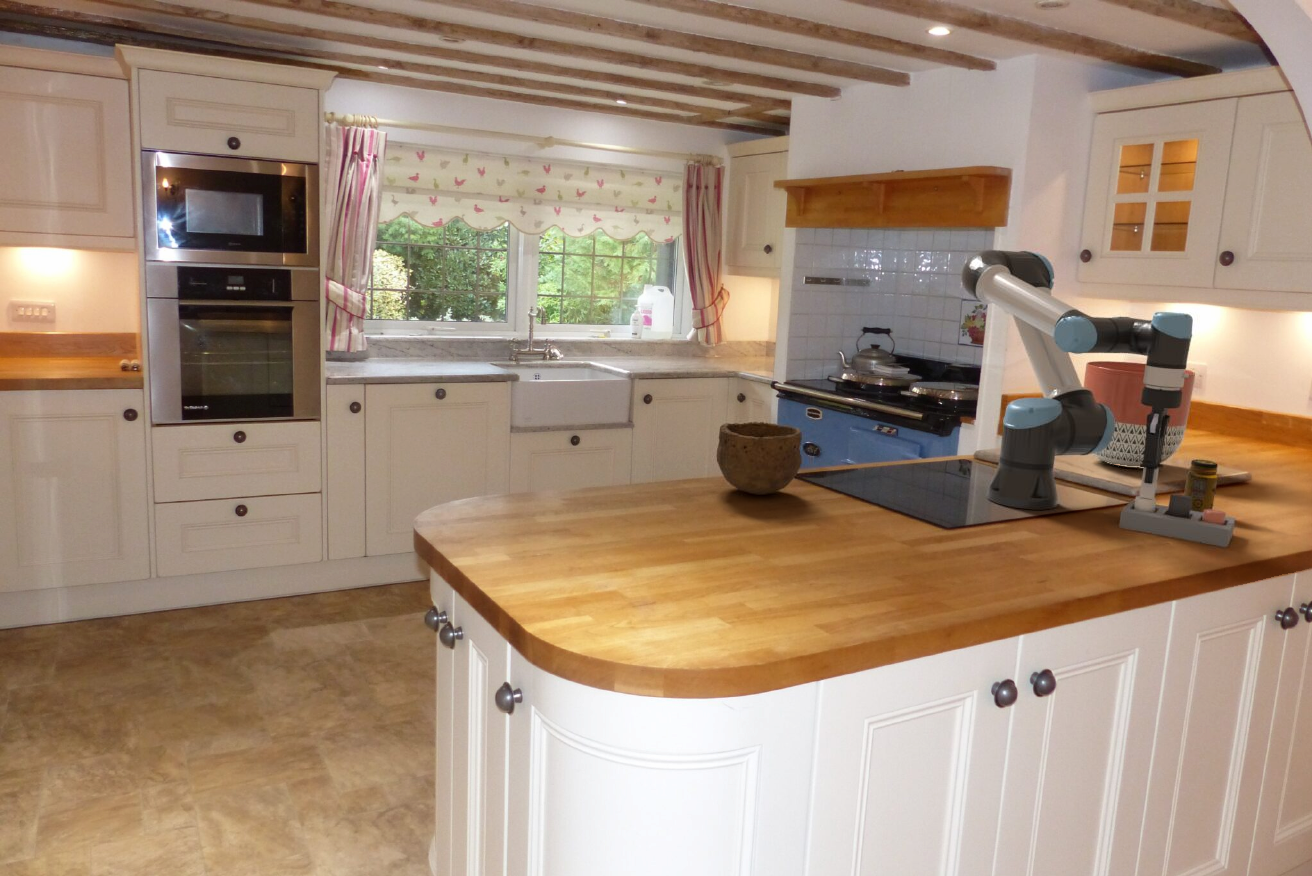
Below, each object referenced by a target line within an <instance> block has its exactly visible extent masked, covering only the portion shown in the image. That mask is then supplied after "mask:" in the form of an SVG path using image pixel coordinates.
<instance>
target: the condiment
mask: <svg viewBox="0 0 1312 876" xmlns="http://www.w3.org/2000/svg"><path fill="white" fill-rule="evenodd" d="M1190 463H1191V464H1190V467H1189V470H1188V472H1187V475H1186V480H1185V484H1184V485H1185V486H1184V491H1183V495H1186V496H1190V497H1192V501H1191V507H1190V510H1191V511H1197V512H1204V509H1213V507H1214V502H1215V495H1216V489H1217V485H1218V484H1217V482H1218V476H1219V475H1217V472H1218V466H1219V465H1218V463H1217V462H1215V461H1211V460H1207V459H1192V460H1191V462H1190Z"/></svg>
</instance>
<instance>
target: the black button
mask: <svg viewBox="0 0 1312 876" xmlns="http://www.w3.org/2000/svg"><path fill="white" fill-rule="evenodd" d="M1191 501H1192V497H1190V496H1186V495H1184V494H1180V493H1174V494H1173V493H1171V494H1170V495H1169V503H1168V507H1169V508H1168V514H1169V515H1171V516H1175V517H1182V518H1187V517H1189V513H1190V507H1191Z"/></svg>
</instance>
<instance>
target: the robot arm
mask: <svg viewBox="0 0 1312 876" xmlns="http://www.w3.org/2000/svg"><path fill="white" fill-rule="evenodd" d="M1053 279H1055V271H1054V268H1053V265H1052V263H1051V262H1050V260H1049V259H1048V258H1046V256H1044V255H1042V253H1041V254H1040V253H1039V252H1032V251H1028V250H1021V251H1020V250H1019V251H1015V250H1001V249H1000V250H999V249H997V250H996V249H986V250H981V251H978V252H977V253H975V254H973V255H971V257H970V258H968V259H967V260H966V261H965V264H964V266H963V268H962V271H961V283H962V285H963V288H964V290H965V291H966V292H967V293H968V294H969V295H970V296H971V297H973V298H974V299H976V300H978V301H980V302H982V303H983V304H994V305H996V306H998V307H999V308H1001V309H1002V310H1003V312H1004V313H1006V314H1007V315H1010V316H1012V318H1013V320H1014V323H1015V325H1016V328H1017V330H1018V334H1019V336H1020V339H1021V342H1022V343H1023V344H1022V345H1023V347H1024V349H1025V352H1026V354H1027V357H1028V359H1029V362H1030V364H1031V367H1032V369H1033V372H1034V375H1035V377H1036V380H1037V383H1038V386H1039V389H1040V390H1041V393H1042V396H1043V397H1024V398H1018V399H1015V400H1011V402H1008V404H1007V405H1006V408H1005V413H1004V417H1003V419H1002V423H1003V424H1002V425H1003V426H1002V435H1001V441H1000V442H1001V445H1000V452H999V459H998V461H999V462H998V466H997V468H996V470H995V472H994V474H993V477H992V478H991V480H990V483H989V485H988V487H987V493H986V498H987V499H988V500H989V501H991V502H994V503H995V504H999V505H1002V506H1006V507H1009V508H1010V507H1011V508H1017V509H1023V510H1034V511H1036V510H1038V511H1039V510H1040V511H1041V510H1051V509H1055V508H1057V506H1058V499H1059V496H1058V495H1059V494H1058V489H1057V486H1056V480H1055V476H1054V466H1055V460H1056V459H1055V457H1058V456H1088V455H1093V454H1094V453H1098V452H1100V451H1102V450H1104V449H1105V448H1106V447H1107V446H1108V445H1109V443H1110V442H1111V440H1112V435H1113V434H1114V431H1115V419H1114V416H1113V413H1112V412H1111V410H1110V409H1109V408H1108V407H1107V406H1104V405H1103V404H1101V403H1096V401H1095V399H1094V396H1093V394H1092V391H1091V390H1090V389H1087V388H1084V386H1082V384H1081V381H1080V378H1079V376H1078V373H1077V371H1076V369H1075V365H1074V363H1073V361H1072V358H1071V356H1070V354H1071V353H1072V354H1075V355H1079V354H1080V355H1081V354H1130V355H1131V354H1132V355H1139V356H1144V357H1146V363H1145V364H1146V367H1145V374H1144V381H1143V383H1144V384H1145V385H1146V386H1145V387H1144V388H1143V390H1142V397H1141V403H1142V404H1143V405H1146V406H1151V407H1152V410H1151V413H1150V414H1148V415H1147V420H1146V422H1147V424H1146V440H1145V450H1144V459H1143V464H1140V467H1144V468H1142V469H1143V470H1142V477H1141V482H1140V483H1141V484H1140V491H1139V495H1138V496H1139V497H1143V498H1149V499H1154V498H1155V497H1156V490H1157V483H1158V476H1159V469H1160V468H1163V467H1164V464H1162V463H1160V462H1161V460H1162V459H1161V457H1162V452H1163V446H1164V441H1165V435H1166V433H1167V427H1168V423H1169V422H1170V415H1167V413H1168V408H1171V409H1173V408H1179V407H1180V406H1181V401H1182V394H1183V392H1182V390H1180V388H1182V387H1183V385H1184V378H1188V374H1187V373H1184V372H1185V371H1186V370H1187V366H1188V364H1187V363H1188V357H1189V352H1190V347H1191V342H1192V337H1193V320H1194V319H1193V317H1192V315H1191V314H1188V313H1184V312H1183V313H1182V312H1172V311H1171V312H1170V311H1168V312H1167V311H1156V312H1154V313H1153V315H1152V319H1142V318H1135V317H1130V316H1112V317H1101V316H1100V317H1099V316H1091V315H1088V314H1086V313H1085V312H1082V311H1080V310H1079V309H1078V308H1075V307H1073V306H1072V305H1070V304H1068V303H1066V302H1064V301H1062V300H1060V299H1059V298H1057V297H1055V296H1052V289H1053V287H1054V284H1055V282H1054V281H1053Z"/></svg>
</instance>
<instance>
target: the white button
mask: <svg viewBox="0 0 1312 876" xmlns="http://www.w3.org/2000/svg"><path fill="white" fill-rule="evenodd" d="M1139 496H1140V495H1136V496H1135V499H1134V501H1135V505H1134V509H1135V510H1141V511H1147V512H1152V513H1155V506H1156V504H1157V498H1155V497H1154V499H1149V498H1143V497H1139Z"/></svg>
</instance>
